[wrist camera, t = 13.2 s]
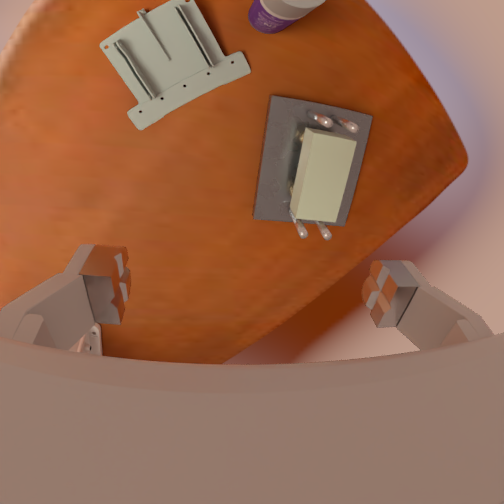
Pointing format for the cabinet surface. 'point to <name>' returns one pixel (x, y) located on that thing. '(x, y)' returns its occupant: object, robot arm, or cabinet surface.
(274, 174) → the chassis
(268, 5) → the container
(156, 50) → the metal bracket
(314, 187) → the board
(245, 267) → the cabinet surface
